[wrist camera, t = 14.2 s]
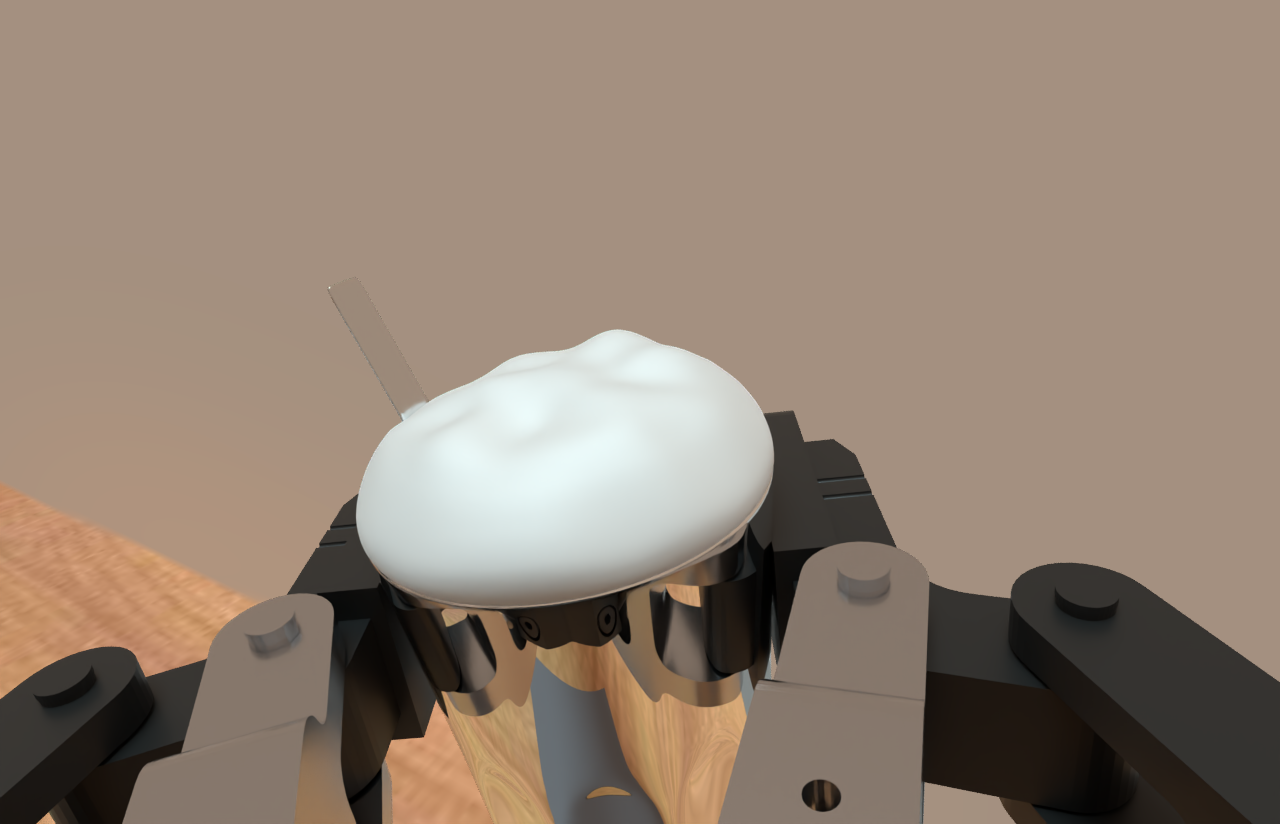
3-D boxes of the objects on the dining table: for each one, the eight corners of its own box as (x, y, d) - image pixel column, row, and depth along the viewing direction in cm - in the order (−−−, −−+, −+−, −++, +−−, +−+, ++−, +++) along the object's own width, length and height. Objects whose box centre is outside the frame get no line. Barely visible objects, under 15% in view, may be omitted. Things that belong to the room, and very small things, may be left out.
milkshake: (595, 754, 16) (473, 230, 12) (870, 878, 13) (832, 232, 9) (414, 966, 13) (161, 349, 9) (722, 1197, 10) (555, 415, 6)
